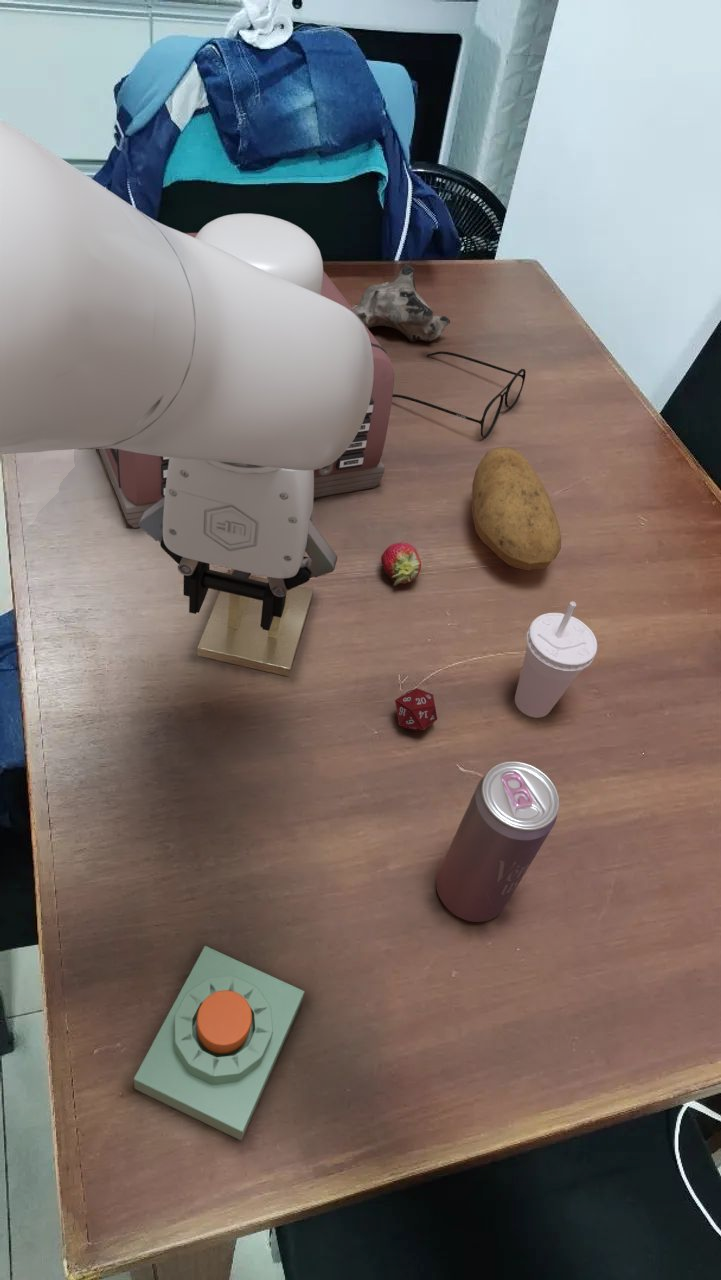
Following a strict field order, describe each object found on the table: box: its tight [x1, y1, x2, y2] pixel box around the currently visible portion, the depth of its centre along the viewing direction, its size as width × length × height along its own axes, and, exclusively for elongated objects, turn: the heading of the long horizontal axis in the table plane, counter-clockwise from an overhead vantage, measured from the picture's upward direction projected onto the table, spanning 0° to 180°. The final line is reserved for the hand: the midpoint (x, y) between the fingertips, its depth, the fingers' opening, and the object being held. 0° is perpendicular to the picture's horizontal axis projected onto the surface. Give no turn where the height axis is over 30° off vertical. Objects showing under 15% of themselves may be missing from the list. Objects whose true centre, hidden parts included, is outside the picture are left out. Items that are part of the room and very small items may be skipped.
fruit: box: [380, 542, 422, 586], centre depth 97 cm, size 4×6×5 cm
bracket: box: [196, 569, 314, 678], centre depth 85 cm, size 11×9×15 cm
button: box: [197, 990, 252, 1054], centre depth 61 cm, size 4×4×2 cm
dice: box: [394, 687, 438, 732], centre depth 84 cm, size 4×4×4 cm
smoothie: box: [514, 601, 598, 719], centre depth 84 cm, size 6×6×14 cm
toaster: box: [98, 232, 395, 529], centre depth 104 cm, size 30×37×17 cm
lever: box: [202, 568, 268, 601], centre depth 76 cm, size 14×5×2 cm, turn 171°
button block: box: [133, 945, 305, 1141], centre depth 63 cm, size 10×8×4 cm
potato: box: [471, 446, 562, 571], centre depth 101 cm, size 9×16×9 cm, turn 10°
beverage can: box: [435, 760, 560, 923], centre depth 70 cm, size 6×6×15 cm
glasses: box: [392, 350, 527, 438], centre depth 122 cm, size 14×15×5 cm
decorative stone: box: [350, 264, 451, 343], centre depth 129 cm, size 16×9×10 cm, turn 95°
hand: (234, 607), depth 73 cm, fingers closed on lever, 5 cm apart
